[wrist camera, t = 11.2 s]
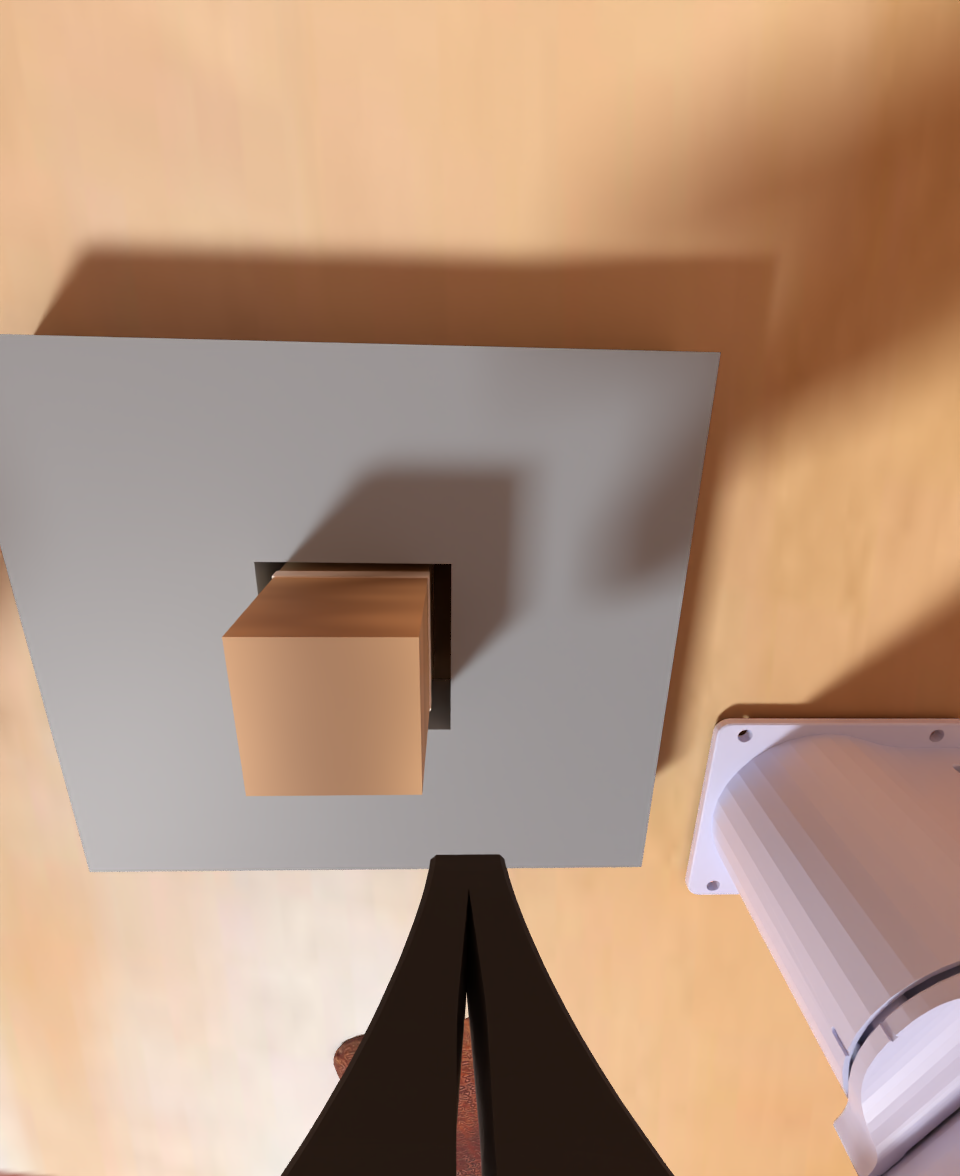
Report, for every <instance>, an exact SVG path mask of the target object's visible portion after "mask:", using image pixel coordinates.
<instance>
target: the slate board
mask: <svg viewBox="0 0 960 1176" xmlns="http://www.w3.org/2000/svg"><path fill="white" fill-rule="evenodd" d="M720 354H721V352H685V351H645V350H605V349H566V348H526V347H486V346H447V345H407V344H367V343H328V342H288V341H248V340H209V339H169V338H130V337H90V336H50V335H11V334H0V547H1V550H2V554H3V558H4V561H5V565H6V568H7V572H8V576H9V579H10V583H11V587H12V590H13V594H14V598H15V601H16V605H17V609H18V612H19V616H20V620H21V623H22V627H23V630H24V634H25V638H26V641H27V645H28V649H29V652H30V656H31V660H32V663H33V667H34V671H35V674H36V678H37V681H38V685H39V689H40V692H41V696H42V700H43V703H44V707H45V711H46V714H47V718H48V722H49V725H50V729H51V732H52V736H53V740H54V743H55V747H56V751H57V754H58V758H59V762H60V765H61V769H62V773H63V776H64V780H65V783H66V787H67V791H68V794H69V798H70V802H71V805H72V809H73V813H74V816H75V820H76V824H77V827H78V831H79V834H80V838H81V842H82V845H83V849H84V853H85V856H86V860H87V864H88V867H89V871H90V872H135V871H245V870H355V869H429V865H430V859H432V858H433V857H434V856H435V855H463V854H500V855H501V856H502V857H503V858H504V859H505V863H506V868H574V867H641V866H642V859H643V853H644V846H645V840H646V833H647V827H648V820H649V814H650V807H651V801H652V794H653V788H654V781H655V775H656V768H657V762H658V755H659V749H660V742H661V736H662V730H663V723H664V717H665V710H666V704H667V697H668V691H669V684H670V678H671V671H672V665H673V658H674V652H675V645H676V639H677V632H678V626H679V619H680V613H681V606H682V600H683V594H684V587H685V581H686V574H687V568H688V561H689V555H690V548H691V542H692V535H693V529H694V522H695V516H696V509H697V503H698V496H699V490H700V483H701V477H702V470H703V464H704V458H705V451H706V445H707V438H708V432H709V425H710V419H711V412H712V406H713V399H714V393H715V386H716V380H717V373H718V367H719V360H720ZM286 562H320V563H411V564H451V679H432V686H431V698H432V704H431V711H429V722H428V733H427V745H426V757H425V769H424V780H423V792H422V795H331V796H246V793H245V786H244V779H243V773H242V766H241V760H240V753H239V746H238V740H237V733H236V727H235V720H234V713H233V707H232V700H231V694H230V687H229V680H228V674H227V667H226V661H225V654H224V647H223V641H222V636H223V635H224V634H225V633H226V632H227V631H228V630H229V628H230V627H231V626H232V625H233V624H234V623H235V621H236V620H237V619H238V618H239V617H240V616H241V614H242V613H243V612H244V611H245V610H246V609H247V608H248V606H249V605H250V604H251V603H252V602H253V601H254V599H255V598H256V597H257V596H258V595H259V594H260V592H261V591H262V590H263V589H264V588H265V587H266V586H267V584H268V583H269V582H270V581H271V580H272V575H273V574H274V573H275V572H276V571H279V570H280V569H281V568H282V567H283V566H284V565H285V564H286Z"/></svg>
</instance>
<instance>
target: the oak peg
mask: <svg viewBox="0 0 960 1176" xmlns="http://www.w3.org/2000/svg"><path fill="white" fill-rule="evenodd" d="M222 641H223V647H224V654H225V661H226V667H227V674H228V680H229V687H230V694H231V700H232V707H233V713H234V720H235V727H236V733H237V740H238V746H239V753H240V760H241V766H242V773H243V779H244V786H245V793H246V796H331V795H422V792H423V780H424V769H425V757H426V745H427V733H428V722H429V711H431V704H432V698H431V686H432V675H433V663H434V594H433V564H411V563H320V562H286V564H285V565H284V566H283V567H282V568H281V569H280V570H279V571H276V572H275V573H274V574H273V575H272V580H271V581H270V582H269V583H268V584H267V586H266V587H265V588H264V589H263V590H262V591H261V592H260V594H259V595H258V596H257V597H256V598H255V599H254V601H253V602H252V603H251V604H250V605H249V606H248V608H247V609H246V610H245V611H244V612H243V613H242V614H241V616H240V617H239V618H238V619H237V620H236V621H235V623H234V624H233V625H232V626H231V627H230V628H229V630H228V631H227V632H226V633H225V634H224V635H223V636H222Z"/></svg>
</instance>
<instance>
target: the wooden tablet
mask: <svg viewBox="0 0 960 1176" xmlns="http://www.w3.org/2000/svg"><path fill="white" fill-rule="evenodd" d="M362 1038H363V1036H360V1037H357V1038H354V1039H350V1040H347V1041H346V1042H345V1043H344V1044H342V1045H341V1046H340V1047H339V1049H338V1050H337V1051H336V1053H335V1056H334V1066H335V1069H336V1072H337V1074H338V1076H339V1078H340V1079H341V1077H342V1075H343V1074H344V1072H345V1070H346V1068H347V1067H348V1065H349V1063H350V1061H351V1059H352V1057H353V1055H354V1054H355V1052H356V1050H357V1048H358V1046H359V1044H360V1042H361V1040H362ZM456 1176H482V1168H481V1152H480V1135H479V1124H478V1113H477V1102H476V1091H475V1080H474V1069H473V1058H472V1047H471V1035H470V1024H469V1017H468V1018H466V1019H465V1021H464V1035H463V1048H462V1062H461V1076H460V1090H459V1104H458V1118H457V1131H456Z"/></svg>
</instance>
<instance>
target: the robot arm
mask: <svg viewBox="0 0 960 1176" xmlns="http://www.w3.org/2000/svg"><path fill="white" fill-rule="evenodd" d="M743 730H747V732H746V733H745V734H744V735H741V736H738V735H739V733H740V732H741V731H743ZM934 731H935V732H934ZM932 732H934V733H933V734H931V733H932ZM711 881H712V882H711ZM685 883H686V885H687V887H688V889H689V891H690V892H692V893H693V894H699V895H701V894H740V896H741V898H742V900H743V902H744V903H745V905H746V907H747V909H748V911H749V913H750V915H751V917H752V919H753V920H754V922H755V924H756V926H757V928H758V930H759V932H760V934H761V936H762V938H763V939H764V941H765V943H766V945H767V947H768V949H769V951H770V953H771V955H772V956H773V958H774V960H775V962H776V964H777V966H778V968H779V970H780V972H781V973H782V975H783V977H784V979H785V981H786V983H787V985H788V987H789V989H790V991H791V992H792V994H793V996H794V998H795V1000H796V1002H797V1004H798V1006H799V1008H800V1009H801V1011H802V1013H803V1015H804V1017H805V1019H806V1021H807V1023H808V1025H809V1026H810V1028H811V1030H812V1032H813V1034H814V1036H815V1038H816V1040H817V1042H818V1044H819V1045H820V1047H821V1049H822V1051H823V1053H824V1055H825V1057H826V1059H827V1061H828V1062H829V1064H830V1066H831V1068H832V1070H833V1072H834V1074H835V1076H836V1078H837V1079H838V1081H839V1083H840V1085H841V1087H842V1089H843V1091H844V1093H845V1095H846V1097H847V1098H848V1102H847V1105H846V1107H845V1109H844V1110H843V1112H842V1113H841V1114H840V1116H839V1117H838V1118H837V1119H836V1120H835V1121H834V1124H833V1125H834V1127H835V1129H836V1131H837V1133H838V1136H839V1138H840V1140H841V1142H842V1144H843V1146H844V1148H845V1150H846V1152H847V1154H848V1156H849V1158H850V1160H851V1162H852V1164H853V1166H854V1168H855V1170H856V1172H857V1174H858V1176H960V719H829V718H729V719H724V720H722V721H720V722H719V723H718V724H717V725H716V726H715V728H714V730H713V736H712V741H711V746H710V751H709V757H708V762H707V767H706V772H705V778H704V783H703V788H702V793H701V799H700V804H699V809H698V814H697V820H696V825H695V830H694V835H693V841H692V846H691V851H690V856H689V862H688V867H687V872H686V877H685ZM466 993H467V1002H468V1013H469V1024H470V1035H471V1047H472V1058H473V1069H474V1080H475V1091H476V1102H477V1113H478V1124H479V1135H480V1152H481V1168H482V1176H674V1175H673V1173H672V1172H671V1171H670V1170H669V1168H668V1167H667V1166H666V1164H665V1163H664V1161H663V1160H662V1158H661V1157H660V1156H659V1154H658V1153H657V1151H656V1150H655V1148H654V1147H653V1146H652V1144H651V1143H650V1141H649V1140H648V1138H647V1137H646V1136H645V1134H644V1133H643V1131H642V1130H641V1128H640V1127H639V1126H638V1124H637V1123H636V1121H635V1120H634V1118H633V1117H632V1115H631V1114H630V1113H629V1111H628V1110H627V1108H626V1107H625V1105H624V1104H623V1103H622V1101H621V1100H620V1098H619V1096H618V1095H617V1093H616V1092H615V1090H614V1089H613V1087H612V1085H611V1084H610V1082H609V1081H608V1079H607V1078H606V1076H605V1074H604V1073H603V1071H602V1070H601V1068H600V1067H599V1065H598V1063H597V1062H596V1060H595V1058H594V1057H593V1055H592V1053H591V1052H590V1050H589V1048H588V1046H587V1045H586V1043H585V1041H584V1040H583V1038H582V1036H581V1035H580V1033H579V1031H578V1029H577V1028H576V1026H575V1024H574V1022H573V1020H572V1019H571V1017H570V1015H569V1013H568V1011H567V1009H566V1007H565V1006H564V1004H563V1002H562V1000H561V998H560V996H559V994H558V992H557V990H556V988H555V986H554V984H553V982H552V980H551V978H550V976H549V974H548V972H547V970H546V968H545V966H544V964H543V962H542V959H541V957H540V955H539V953H538V951H537V948H536V946H535V944H534V942H533V939H532V937H531V935H530V933H529V930H528V928H527V926H526V923H525V921H524V918H523V916H522V913H521V910H520V908H519V905H518V902H517V900H516V897H515V894H514V891H513V888H512V885H511V882H510V879H509V875H508V871H507V868H506V863H505V859H504V858H503V857H502V856H501V855H500V854H463V855H435V856H434V857H433V858H432V859H430V865H429V871H428V876H427V880H426V884H425V888H424V892H423V895H422V899H421V902H420V905H419V908H418V911H417V914H416V917H415V920H414V923H413V925H412V928H411V931H410V933H409V936H408V938H407V941H406V944H405V946H404V949H403V952H402V954H401V957H400V959H399V962H398V964H397V966H396V969H395V971H394V973H393V975H392V977H391V980H390V982H389V984H388V986H387V988H386V991H385V993H384V995H383V997H382V1000H381V1002H380V1004H379V1006H378V1008H377V1010H376V1012H375V1014H374V1017H373V1019H372V1021H371V1023H370V1025H369V1027H368V1029H367V1031H366V1033H365V1035H364V1036H363V1038H362V1040H361V1042H360V1044H359V1046H358V1048H357V1050H356V1052H355V1054H354V1055H353V1057H352V1059H351V1061H350V1063H349V1065H348V1067H347V1068H346V1070H345V1072H344V1074H343V1075H342V1077H341V1079H340V1081H339V1082H338V1084H337V1086H336V1088H335V1089H334V1091H333V1093H332V1094H331V1096H330V1098H329V1100H328V1101H327V1103H326V1105H325V1107H324V1108H323V1110H322V1112H321V1113H320V1115H319V1117H318V1118H317V1120H316V1122H315V1123H314V1125H313V1127H312V1128H311V1130H310V1131H309V1133H308V1135H307V1136H306V1138H305V1140H304V1141H303V1143H302V1144H301V1146H300V1147H299V1149H298V1150H297V1152H296V1153H295V1155H294V1156H293V1158H292V1159H291V1161H290V1162H289V1164H288V1165H287V1167H286V1169H285V1170H284V1172H283V1173H282V1175H281V1176H456V1131H457V1118H458V1104H459V1090H460V1076H461V1062H462V1048H463V1035H464V1021H465V1007H466Z"/></svg>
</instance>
